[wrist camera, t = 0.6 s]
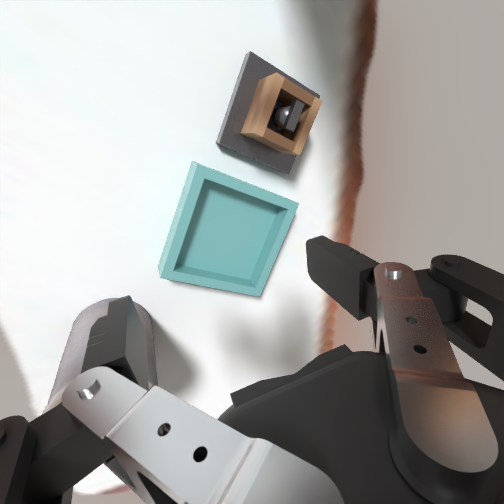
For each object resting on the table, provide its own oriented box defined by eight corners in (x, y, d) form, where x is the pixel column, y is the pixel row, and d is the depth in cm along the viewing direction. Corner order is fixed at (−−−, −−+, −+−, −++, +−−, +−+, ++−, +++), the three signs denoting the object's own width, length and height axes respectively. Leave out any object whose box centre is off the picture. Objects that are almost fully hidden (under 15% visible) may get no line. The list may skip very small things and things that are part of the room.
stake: (245, 54, 32) (273, 35, 26) (313, 97, 36) (351, 89, 30) (215, 142, 34) (234, 144, 28) (283, 172, 39) (312, 180, 32)
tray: (192, 161, 34) (197, 163, 31) (286, 198, 40) (299, 203, 37) (158, 266, 37) (160, 277, 34) (251, 285, 43) (259, 296, 40)
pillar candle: (143, 360, 41) (148, 461, 28) (64, 358, 37) (28, 477, 24) (159, 301, 39) (173, 381, 26) (77, 291, 35) (46, 383, 22)
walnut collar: (259, 80, 32) (276, 72, 28) (301, 104, 35) (322, 101, 31) (240, 133, 33) (254, 133, 29) (282, 153, 36) (300, 155, 32)
